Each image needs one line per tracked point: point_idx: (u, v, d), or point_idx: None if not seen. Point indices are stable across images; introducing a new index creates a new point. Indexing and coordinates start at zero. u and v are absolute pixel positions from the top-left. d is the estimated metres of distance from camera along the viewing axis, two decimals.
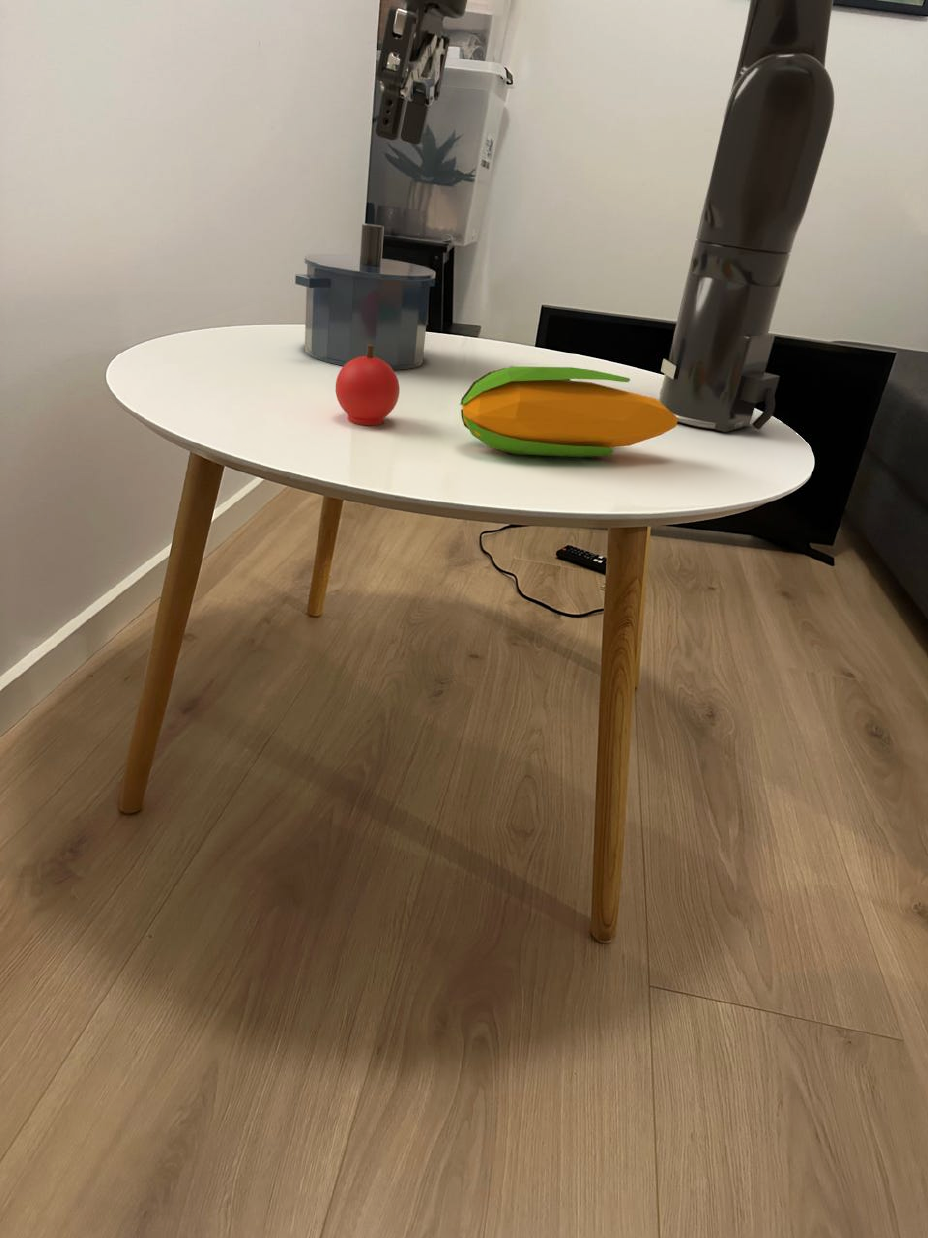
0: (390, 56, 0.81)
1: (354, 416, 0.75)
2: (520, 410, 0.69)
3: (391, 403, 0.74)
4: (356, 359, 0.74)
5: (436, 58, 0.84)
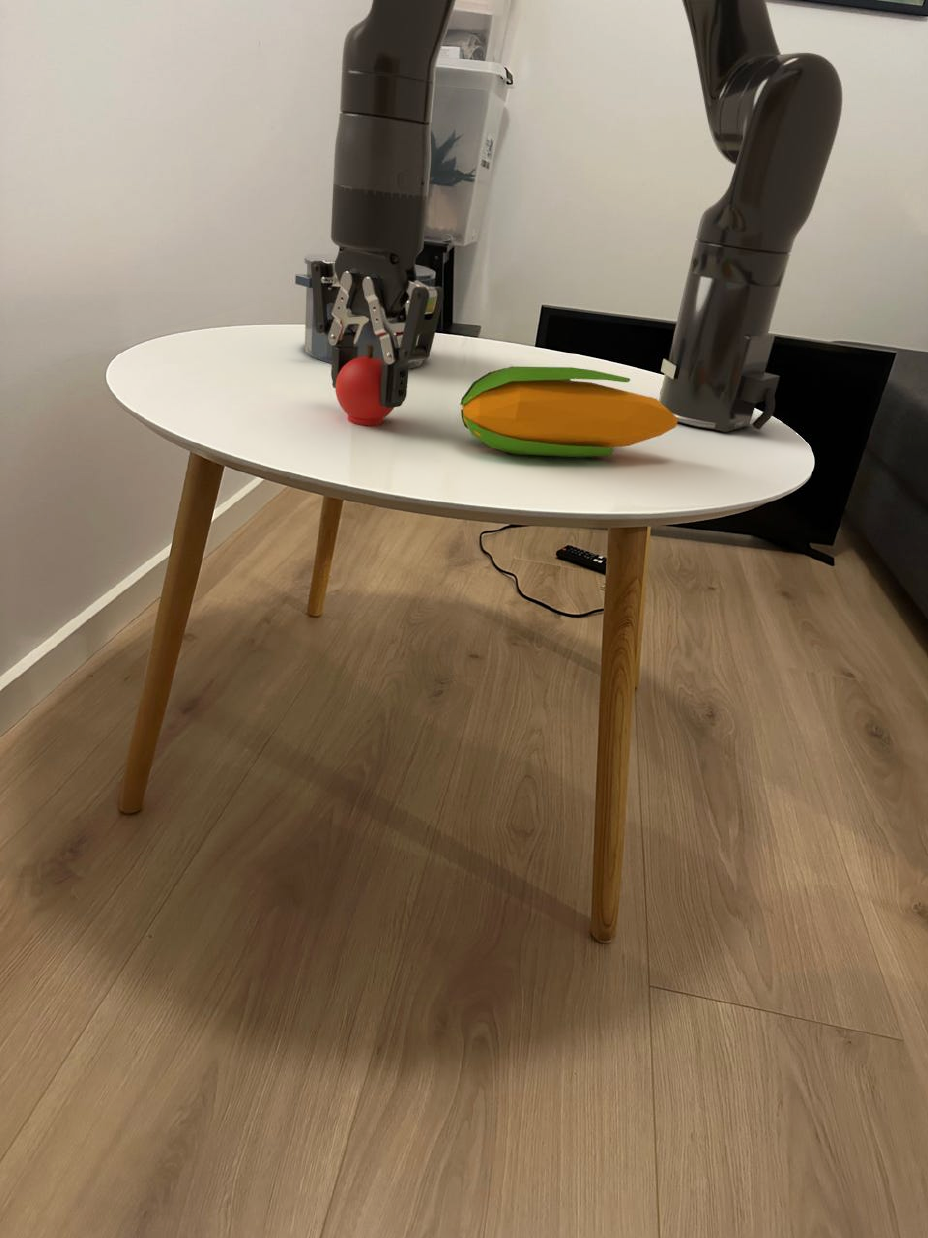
0: (387, 325, 0.70)
1: (354, 416, 0.75)
2: (521, 410, 0.69)
3: None
4: (356, 359, 0.74)
5: None
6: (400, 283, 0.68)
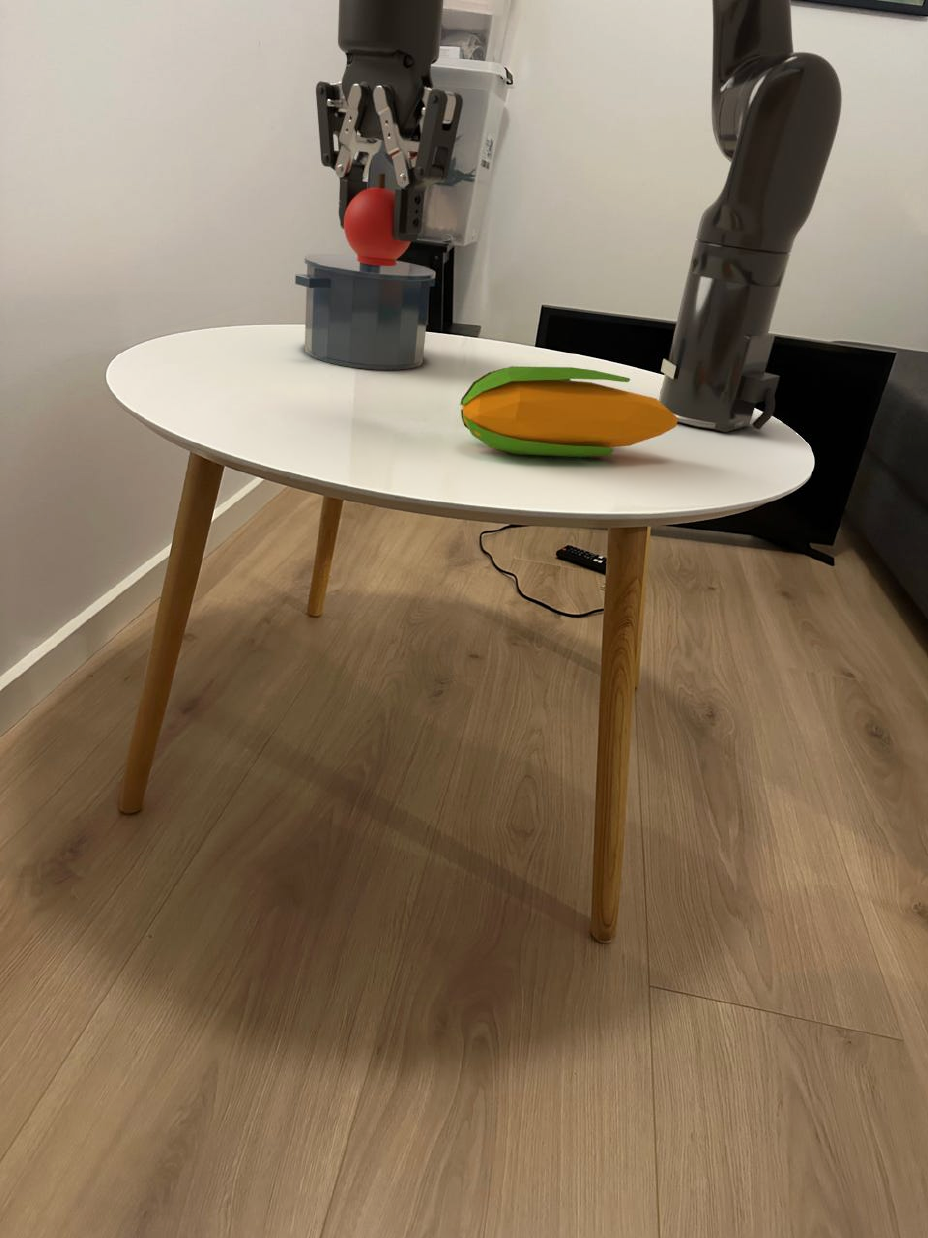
0: (400, 141, 0.64)
1: (365, 254, 0.69)
2: (520, 410, 0.69)
3: None
4: (366, 189, 0.67)
5: None
6: (415, 89, 0.62)
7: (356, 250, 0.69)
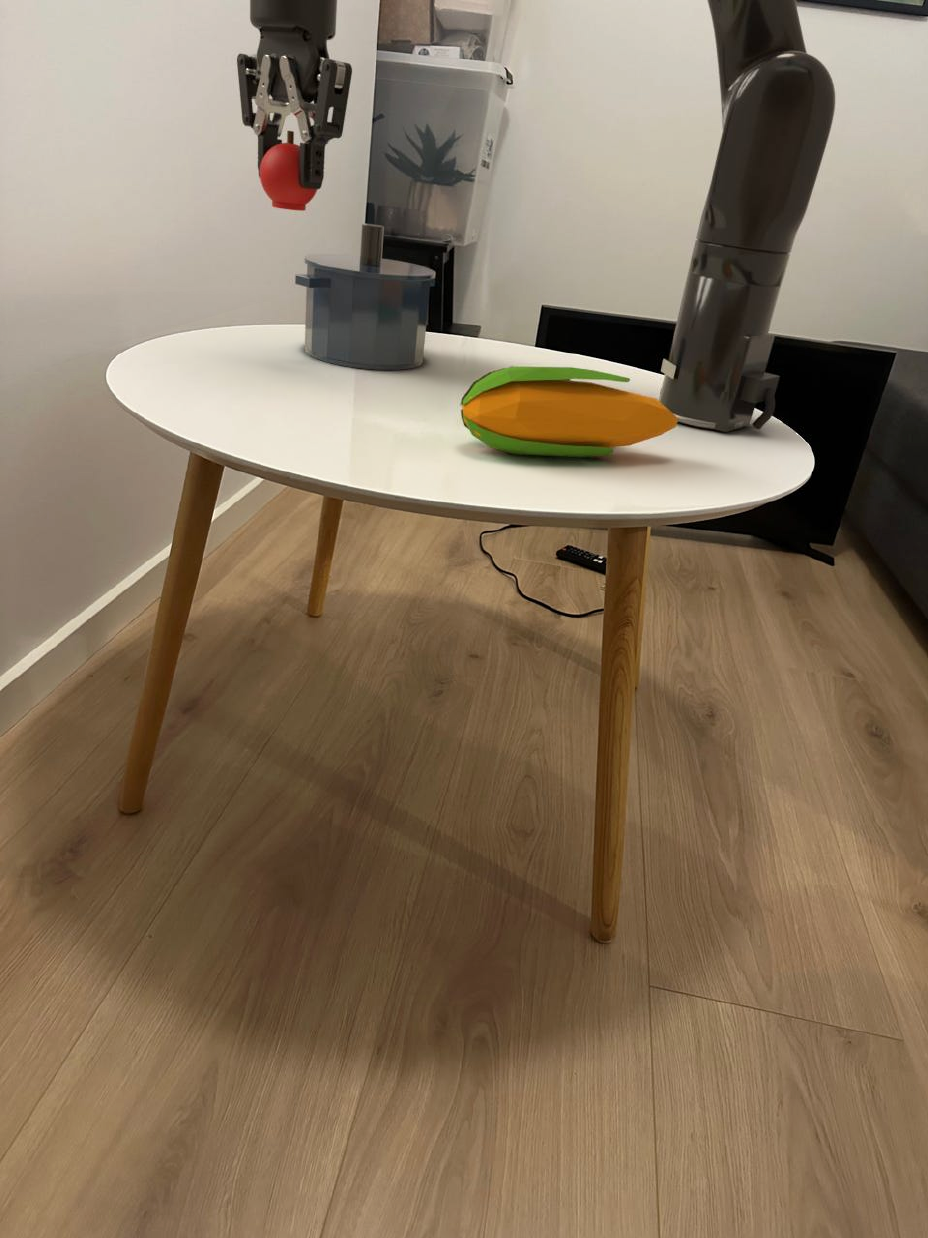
0: (302, 102, 0.77)
1: (277, 199, 0.81)
2: (520, 410, 0.69)
3: None
4: None
5: None
6: (312, 59, 0.75)
7: (270, 196, 0.82)
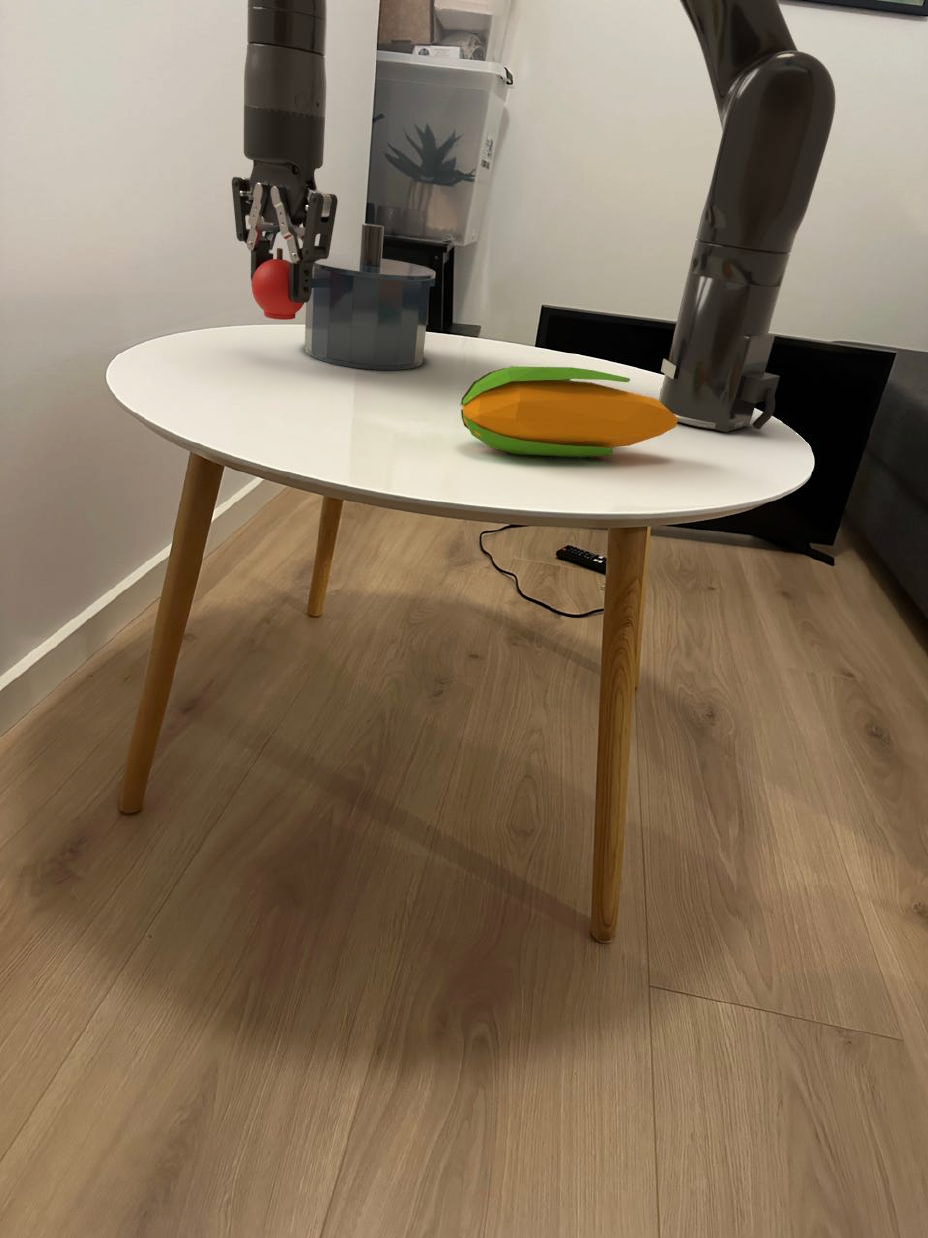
0: (291, 228, 0.82)
1: (268, 311, 0.87)
2: (520, 410, 0.69)
3: None
4: (268, 261, 0.86)
5: None
6: (301, 190, 0.81)
7: (261, 308, 0.88)
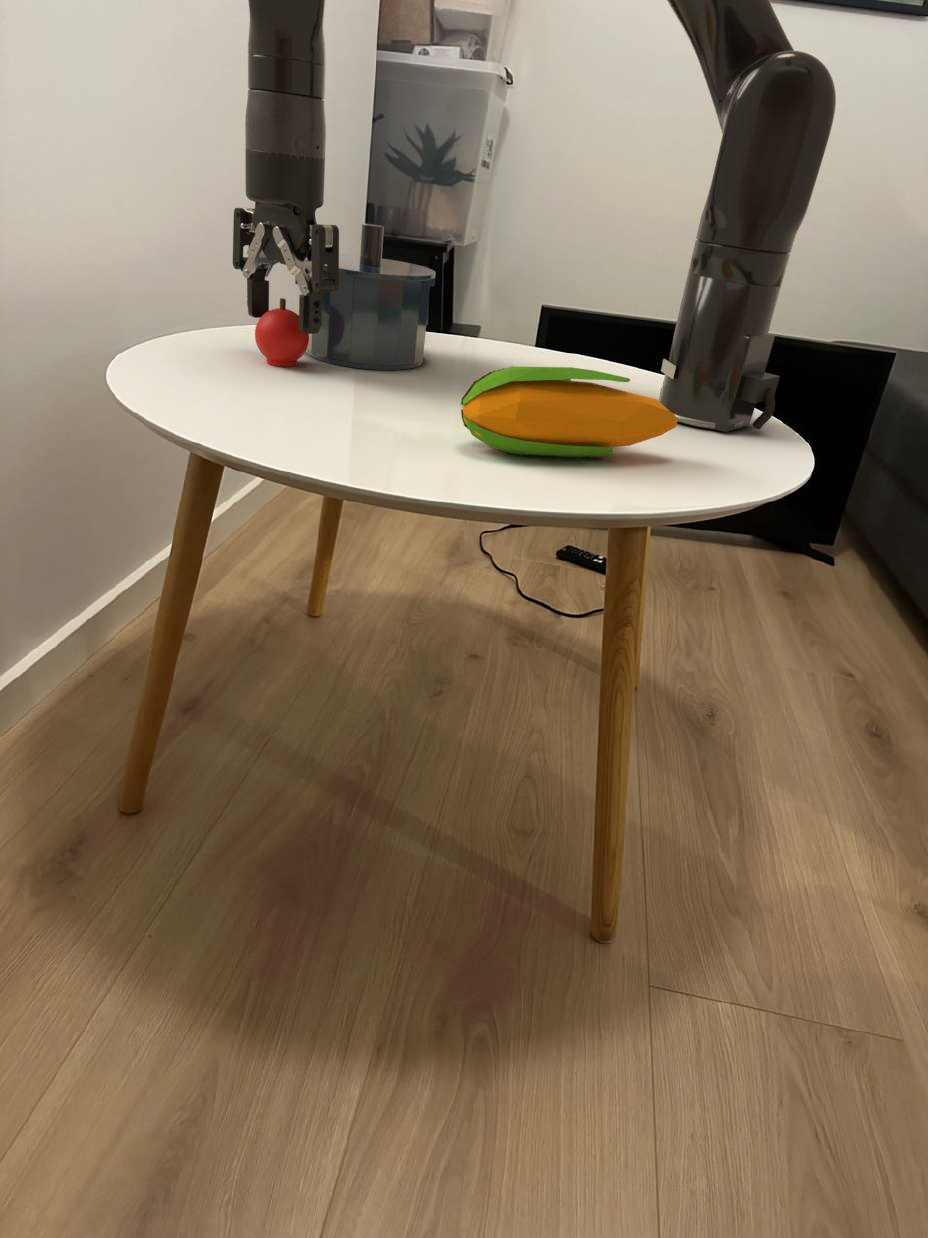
0: (297, 262, 0.84)
1: (270, 358, 0.90)
2: (521, 410, 0.69)
3: (301, 347, 0.89)
4: (271, 310, 0.89)
5: None
6: (302, 231, 0.82)
7: (264, 355, 0.90)
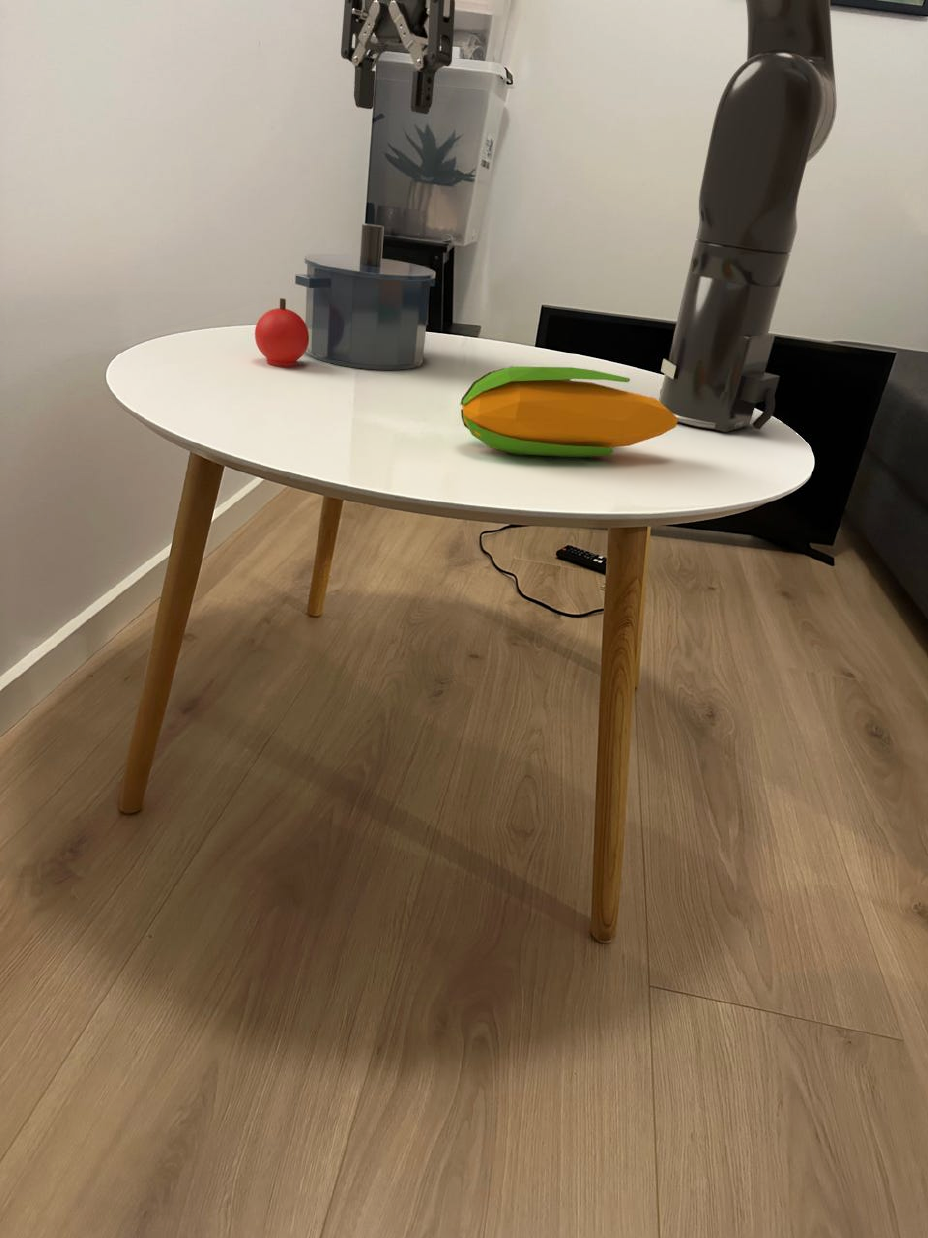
0: (413, 35, 0.87)
1: (270, 358, 0.90)
2: (520, 410, 0.69)
3: (301, 347, 0.89)
4: (271, 310, 0.89)
5: None
6: (419, 2, 0.86)
7: (264, 355, 0.90)
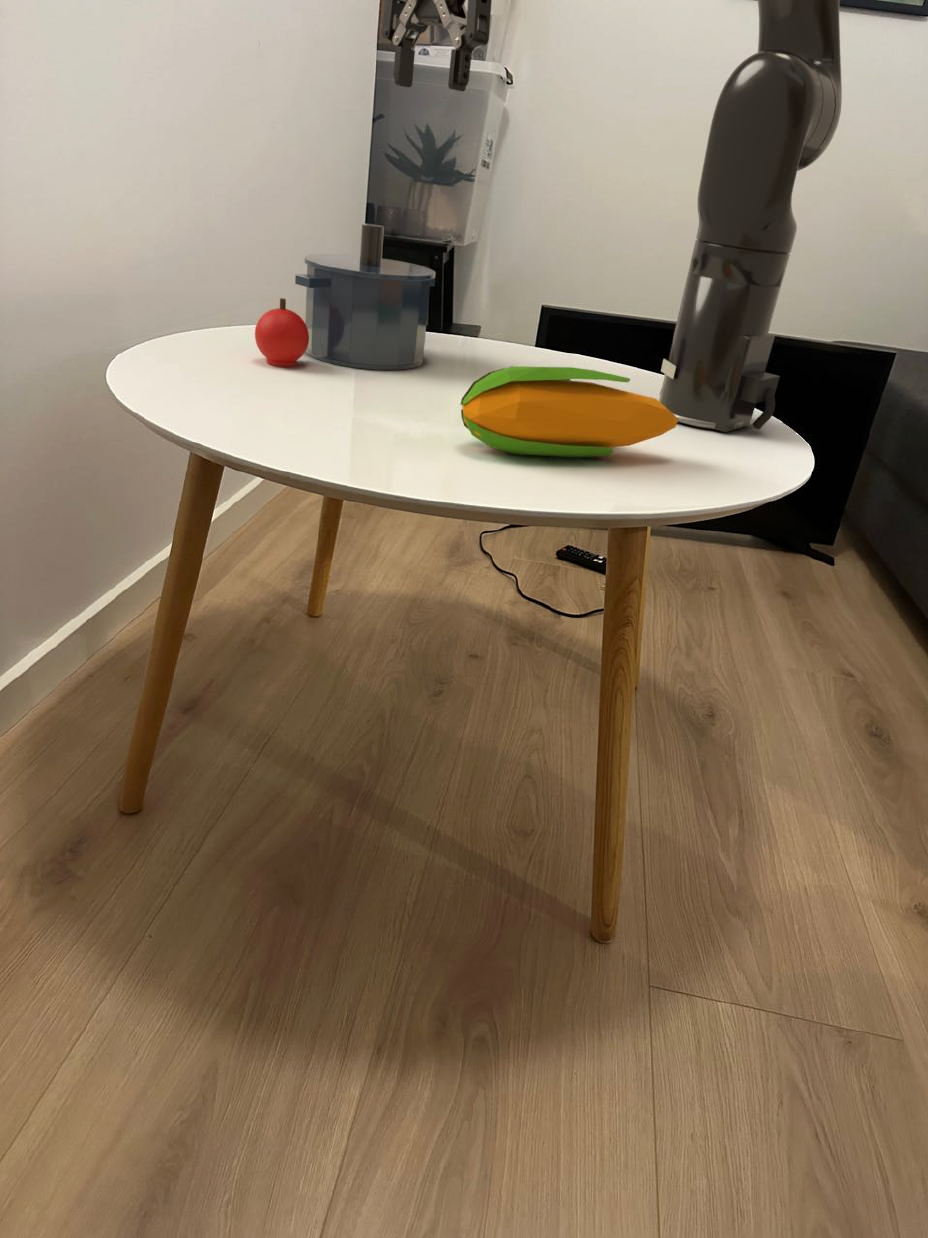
0: (452, 15, 0.92)
1: (270, 358, 0.90)
2: (520, 410, 0.69)
3: (301, 347, 0.89)
4: (271, 310, 0.89)
5: None
6: None
7: (264, 355, 0.90)
